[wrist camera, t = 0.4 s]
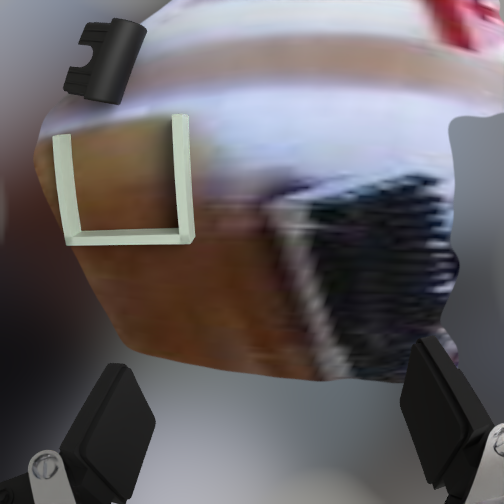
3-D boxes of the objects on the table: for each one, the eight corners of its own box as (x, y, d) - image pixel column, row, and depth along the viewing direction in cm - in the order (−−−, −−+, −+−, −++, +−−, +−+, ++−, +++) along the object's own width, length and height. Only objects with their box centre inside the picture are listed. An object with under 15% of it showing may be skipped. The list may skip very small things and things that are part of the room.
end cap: (130, 107, 34) (104, 103, 27) (86, 97, 33) (58, 94, 27) (156, 35, 30) (136, 19, 24) (111, 30, 30) (86, 16, 23)
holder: (64, 135, 35) (52, 136, 32) (188, 115, 34) (182, 113, 31) (76, 239, 40) (66, 245, 38) (195, 236, 39) (190, 244, 37)
